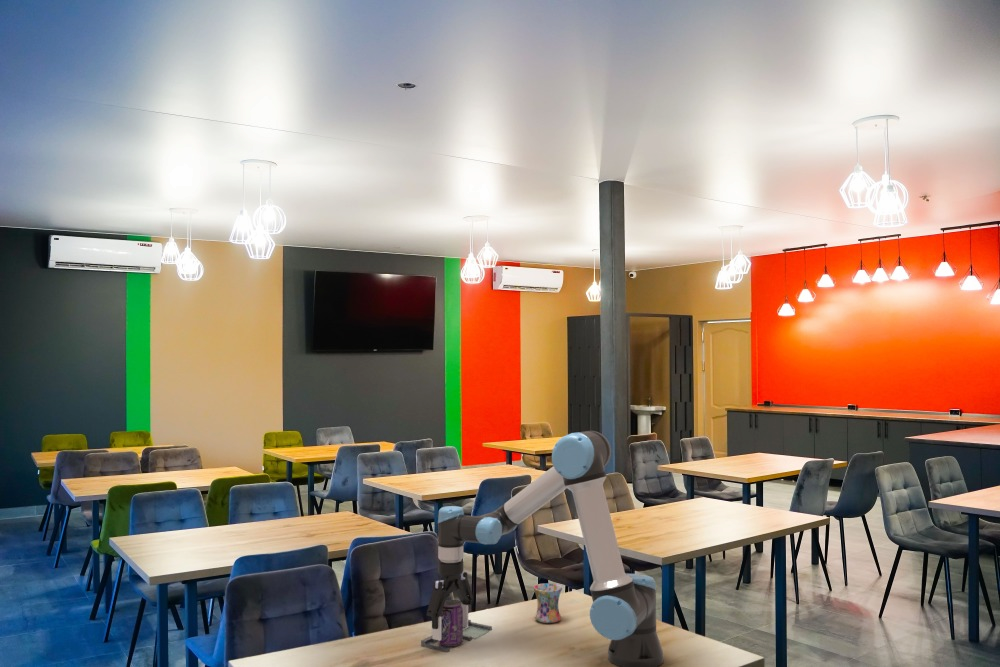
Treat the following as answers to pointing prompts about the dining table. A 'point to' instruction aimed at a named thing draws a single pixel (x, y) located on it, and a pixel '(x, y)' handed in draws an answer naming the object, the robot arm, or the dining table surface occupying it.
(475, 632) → the grey flat frame
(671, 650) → the dining table surface
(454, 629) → the beverage can
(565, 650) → the dining table surface
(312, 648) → the dining table surface
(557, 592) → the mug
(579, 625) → the dining table surface
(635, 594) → the robot arm
